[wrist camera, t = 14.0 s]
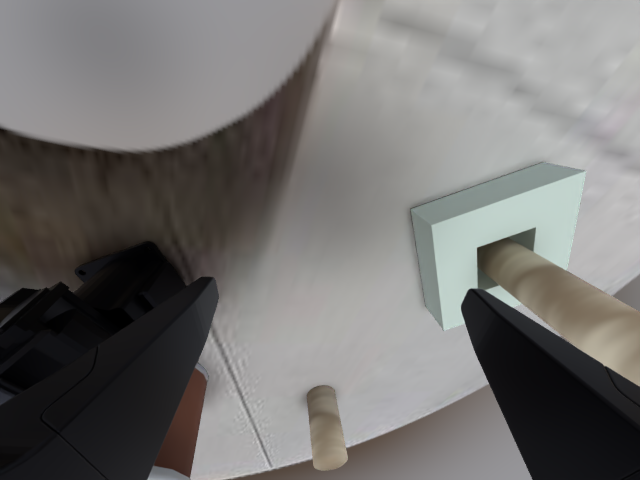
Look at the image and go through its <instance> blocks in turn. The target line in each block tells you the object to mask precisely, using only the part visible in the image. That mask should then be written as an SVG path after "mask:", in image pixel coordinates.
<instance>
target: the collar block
mask: <svg viewBox="0 0 640 480" xmlns="http://www.w3.org/2000/svg"><path fill="white" fill-rule="evenodd" d="M585 175H586V171H585V170H580V169H575V168H570V167H565V166H560V165H555V164H550V163H545V162H542V163H539V164H537V165H534V166H531V167H528V168H525V169H522V170H520V171H517V172H514V173H511V174H508V175H505V176H503V177H500V178H497V179H494V180H491V181H488V182H486V183H483V184H480V185H477V186H474V187H472V188H469V189H466V190H463V191H460V192H457V193H455V194H452V195H449V196H446V197H443V198H440V199H438V200H435V201H432V202H429V203H426V204H423V205H421V206H418V207H415V208H412V209H411V216H412V222H413V229H414V235H415V242H416V248H417V254H418V261H419V267H420V274H421V280H422V286H423V293H424V299H425V306H426V308H427V309H428V310H429V312H430V313H431V314H432V316H433V317H434V318H435V320H436V321H437V322H438V324H439V325H440V327H441V328H442V329H443V331H445V330H448V329H451V328H454V327H457V326H460V325H462V324H465V321H464V318H463V315H462V312H461V304H462V302H463V300H464V297H465V295H466V293H467V291H468V290H469V289H471V288H479V289H483V290H485V291H487V292H488V293H490V294H492V295H493V296H495V297H496V298H498V299H500V300H501V301H503V302H504V303H506V304H508V305H509V306H511V307H515V306H518V305H521V304H522V303H521V302H519V301H518V300H517V299H516V298H515V297H513V296H512V295H511V294H510V293H508V292H507V291H506V290H505V289H503V288H502V287H501V286H500V285H498V284H497V283H496V282H495V281H493V280H492V279H491V278H490V277H488V276H487V275H486V274H485V273H484V272H482V271H481V270H480V269H479V268H477V247H480V246H483V245H486V244H489V243H492V242H495V241H497V240H500V239H503V238H506V237H508V238H510V239H511V240H513V241H515V242H517V243H518V244H520V245H522V246H524V247H526V248H527V249H529V250H531V251H533V252H534V253H536V254H538V255H540V256H541V257H543V258H545V259H547V260H549V261H550V262H552V263H554V264H556V265H557V266H559V267H561V268H563V269H564V270H566V271H567V267H568V262H569V257H570V252H571V247H572V242H573V236H574V231H575V226H576V221H577V216H578V211H579V206H580V201H581V196H582V190H583V185H584V180H585Z"/></svg>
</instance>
